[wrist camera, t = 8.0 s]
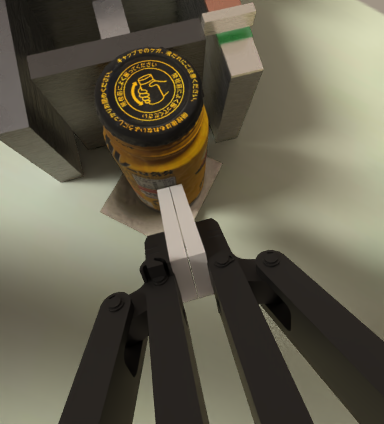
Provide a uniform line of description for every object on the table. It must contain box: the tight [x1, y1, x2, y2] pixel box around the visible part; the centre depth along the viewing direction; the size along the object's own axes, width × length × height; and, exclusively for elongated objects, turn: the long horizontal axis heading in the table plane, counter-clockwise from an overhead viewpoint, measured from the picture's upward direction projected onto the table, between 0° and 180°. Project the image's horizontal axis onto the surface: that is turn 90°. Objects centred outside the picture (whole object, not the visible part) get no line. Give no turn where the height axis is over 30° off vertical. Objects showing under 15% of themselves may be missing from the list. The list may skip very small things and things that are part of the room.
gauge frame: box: [0, 0, 264, 182], centre depth 21 cm, size 18×18×12 cm
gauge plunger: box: [27, 0, 256, 149], centre depth 21 cm, size 13×8×10 cm, turn 106°
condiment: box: [94, 47, 223, 241], centre depth 19 cm, size 7×8×12 cm
